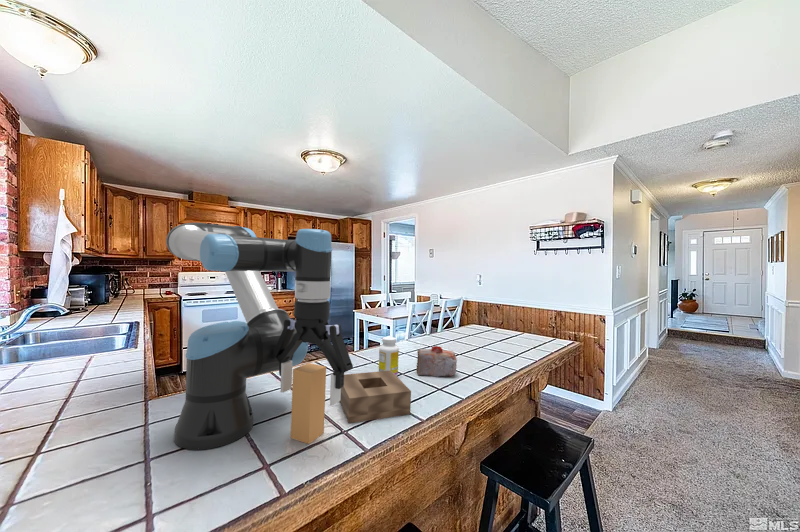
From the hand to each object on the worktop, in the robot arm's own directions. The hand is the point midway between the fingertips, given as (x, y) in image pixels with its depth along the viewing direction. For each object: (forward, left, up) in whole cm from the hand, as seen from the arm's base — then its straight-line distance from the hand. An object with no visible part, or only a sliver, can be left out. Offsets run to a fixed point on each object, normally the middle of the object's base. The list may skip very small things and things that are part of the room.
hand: (309, 396), depth 70 cm
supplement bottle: (-1, +42, -9) cm, 43 cm away
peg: (0, 0, -9) cm, 9 cm away
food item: (+13, +52, -9) cm, 54 cm away
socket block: (+5, +20, -9) cm, 22 cm away
